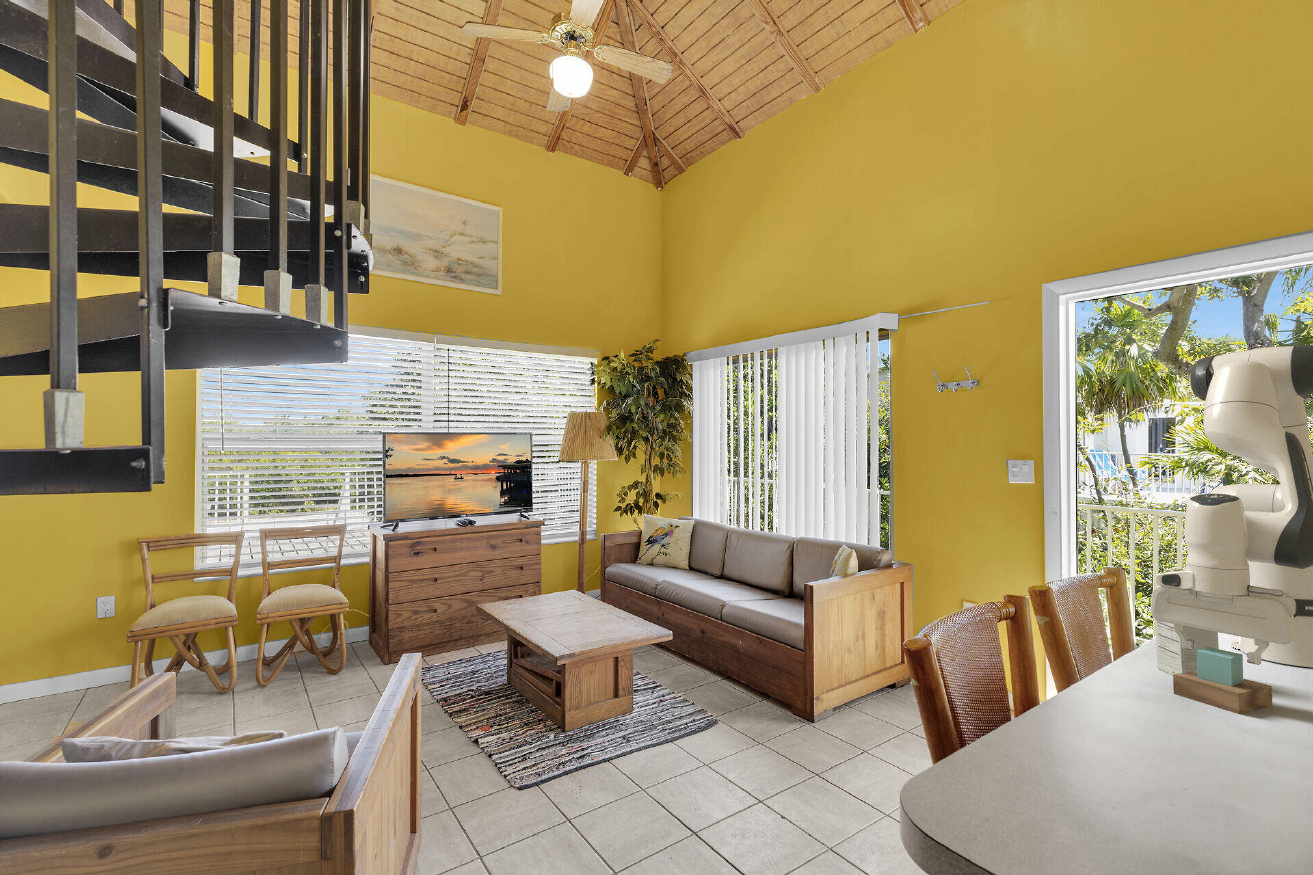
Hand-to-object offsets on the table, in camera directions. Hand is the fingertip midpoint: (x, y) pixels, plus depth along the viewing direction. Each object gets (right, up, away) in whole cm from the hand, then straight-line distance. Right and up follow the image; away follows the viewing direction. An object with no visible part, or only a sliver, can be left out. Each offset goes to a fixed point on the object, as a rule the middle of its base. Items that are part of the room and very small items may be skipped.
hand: (1220, 656), depth 114 cm
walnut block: (0, -8, -1) cm, 8 cm away
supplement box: (+5, -9, +13) cm, 16 cm away
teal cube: (0, -4, 0) cm, 4 cm away
